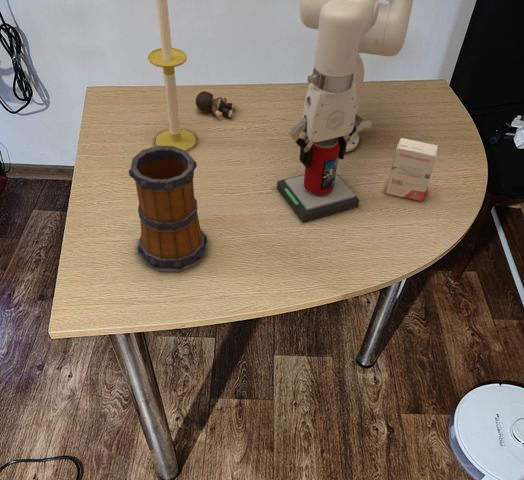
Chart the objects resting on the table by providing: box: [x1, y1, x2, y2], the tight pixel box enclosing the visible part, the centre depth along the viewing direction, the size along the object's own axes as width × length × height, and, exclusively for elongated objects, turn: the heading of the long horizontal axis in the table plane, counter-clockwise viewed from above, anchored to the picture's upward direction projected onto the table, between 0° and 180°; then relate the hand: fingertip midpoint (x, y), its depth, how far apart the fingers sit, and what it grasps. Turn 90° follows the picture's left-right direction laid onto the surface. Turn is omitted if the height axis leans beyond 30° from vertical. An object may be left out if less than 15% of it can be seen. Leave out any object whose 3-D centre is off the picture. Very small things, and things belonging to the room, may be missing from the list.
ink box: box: [385, 137, 439, 202], centre depth 123 cm, size 9×5×12 cm, turn 71°
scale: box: [276, 173, 360, 223], centre depth 124 cm, size 14×13×3 cm
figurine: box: [195, 90, 236, 119], centre depth 144 cm, size 8×5×10 cm
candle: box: [147, 0, 197, 152], centre depth 122 cm, size 10×10×38 cm
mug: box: [128, 145, 209, 273], centre depth 107 cm, size 19×14×20 cm
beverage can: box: [304, 138, 340, 195], centre depth 118 cm, size 7×7×12 cm
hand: (322, 159), depth 117 cm, fingers open, 7 cm apart
